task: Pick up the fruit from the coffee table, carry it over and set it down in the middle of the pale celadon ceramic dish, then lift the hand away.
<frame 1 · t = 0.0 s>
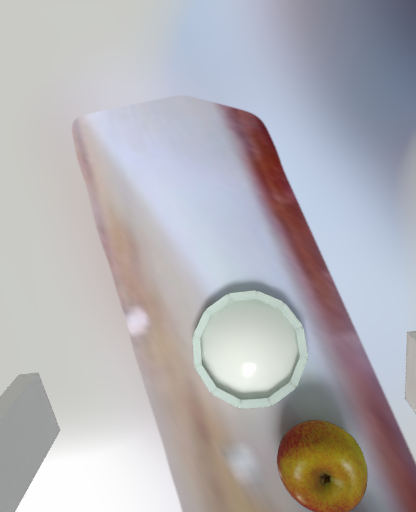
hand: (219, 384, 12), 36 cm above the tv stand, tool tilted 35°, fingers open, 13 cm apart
fruit: (314, 455, 43), on the tv stand
dish: (248, 347, 47), on the tv stand
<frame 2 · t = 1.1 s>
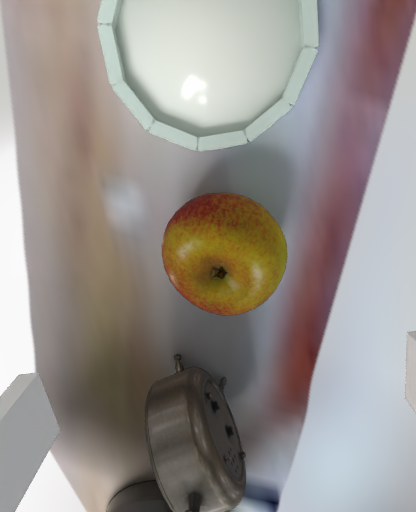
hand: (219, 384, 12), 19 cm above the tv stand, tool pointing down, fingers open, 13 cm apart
fruit: (223, 238, 30), on the tv stand
dish: (208, 42, 25), on the tv stand
alarm clock: (205, 382, 35), on the tv stand
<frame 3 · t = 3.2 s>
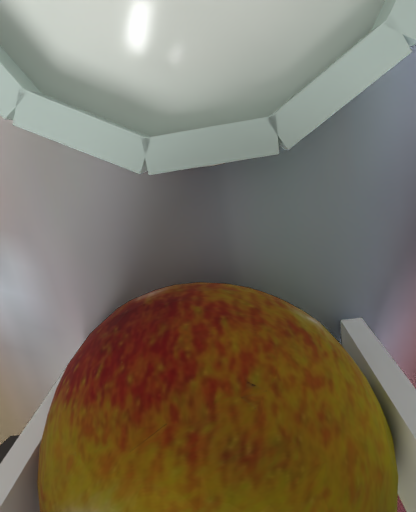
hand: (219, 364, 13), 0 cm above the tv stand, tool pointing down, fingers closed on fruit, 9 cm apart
fruit: (218, 354, 14), on the tv stand, touching gripper
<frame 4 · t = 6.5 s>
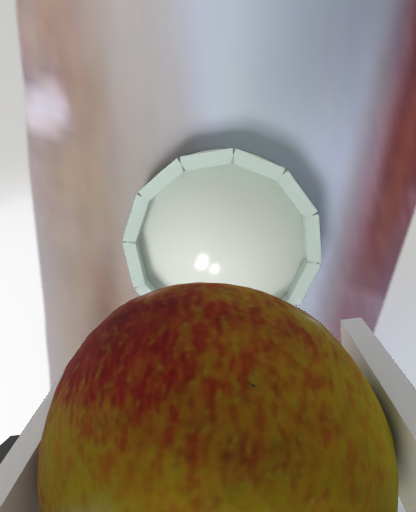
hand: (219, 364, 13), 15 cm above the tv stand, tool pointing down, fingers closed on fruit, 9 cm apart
fruit: (218, 354, 14), point 15 cm above the tv stand, touching gripper
dish: (221, 245, 28), on the tv stand
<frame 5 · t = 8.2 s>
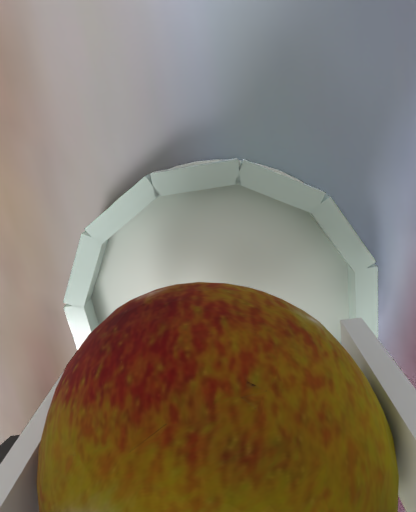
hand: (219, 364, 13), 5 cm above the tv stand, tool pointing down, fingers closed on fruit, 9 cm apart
fruit: (217, 354, 14), point 5 cm above the tv stand, touching gripper
dish: (220, 305, 18), on the tv stand
when the fingers open (3 cm above the tv stand, at t = 9.5 s): fruit drops 2 cm, resting on dish.
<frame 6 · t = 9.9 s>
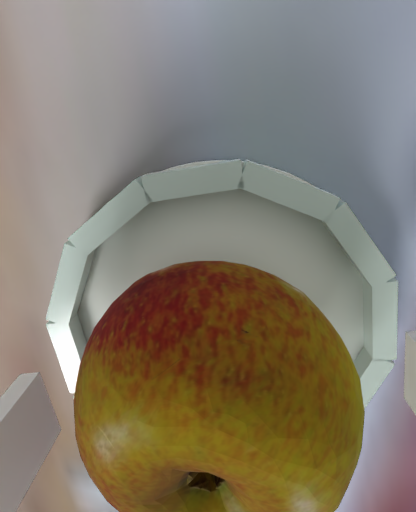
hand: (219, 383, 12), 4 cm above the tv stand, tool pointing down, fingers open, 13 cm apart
fruit: (218, 328, 16), point 1 cm above the tv stand, touching dish
dish: (220, 320, 17), on the tv stand
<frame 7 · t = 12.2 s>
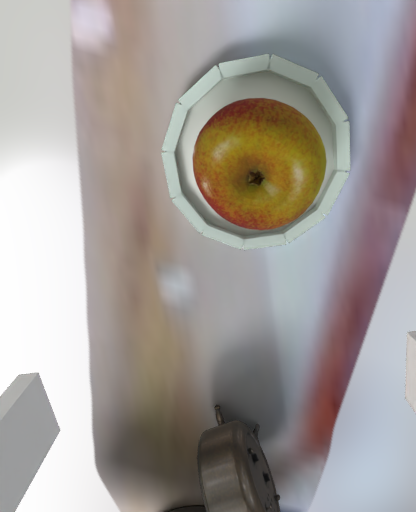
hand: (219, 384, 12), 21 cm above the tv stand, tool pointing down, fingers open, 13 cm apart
fruit: (253, 160, 29), point 1 cm above the tv stand, touching dish
dish: (253, 159, 29), on the tv stand
alarm clock: (240, 427, 40), on the tv stand
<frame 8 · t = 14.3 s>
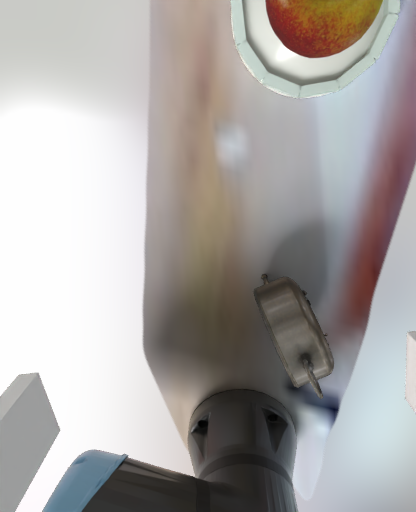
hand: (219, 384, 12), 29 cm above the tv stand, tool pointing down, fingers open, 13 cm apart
fruit: (310, 10, 32), point 1 cm above the tv stand, touching dish
dish: (310, 11, 33), on the tv stand
alarm clock: (284, 300, 43), on the tv stand
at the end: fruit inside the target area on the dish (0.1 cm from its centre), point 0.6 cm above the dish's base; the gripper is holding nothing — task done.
